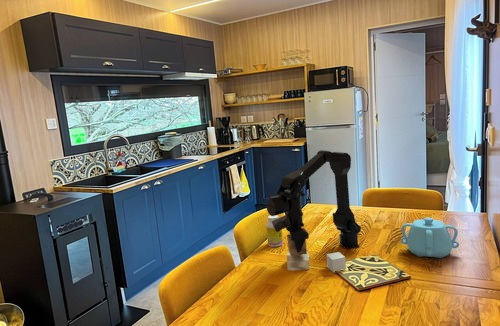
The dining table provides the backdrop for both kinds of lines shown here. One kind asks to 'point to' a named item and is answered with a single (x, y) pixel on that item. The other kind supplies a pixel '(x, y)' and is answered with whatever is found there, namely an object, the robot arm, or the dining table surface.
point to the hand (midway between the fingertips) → (297, 249)
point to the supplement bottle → (273, 233)
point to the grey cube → (336, 261)
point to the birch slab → (298, 262)
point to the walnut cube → (293, 248)
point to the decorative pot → (429, 238)
